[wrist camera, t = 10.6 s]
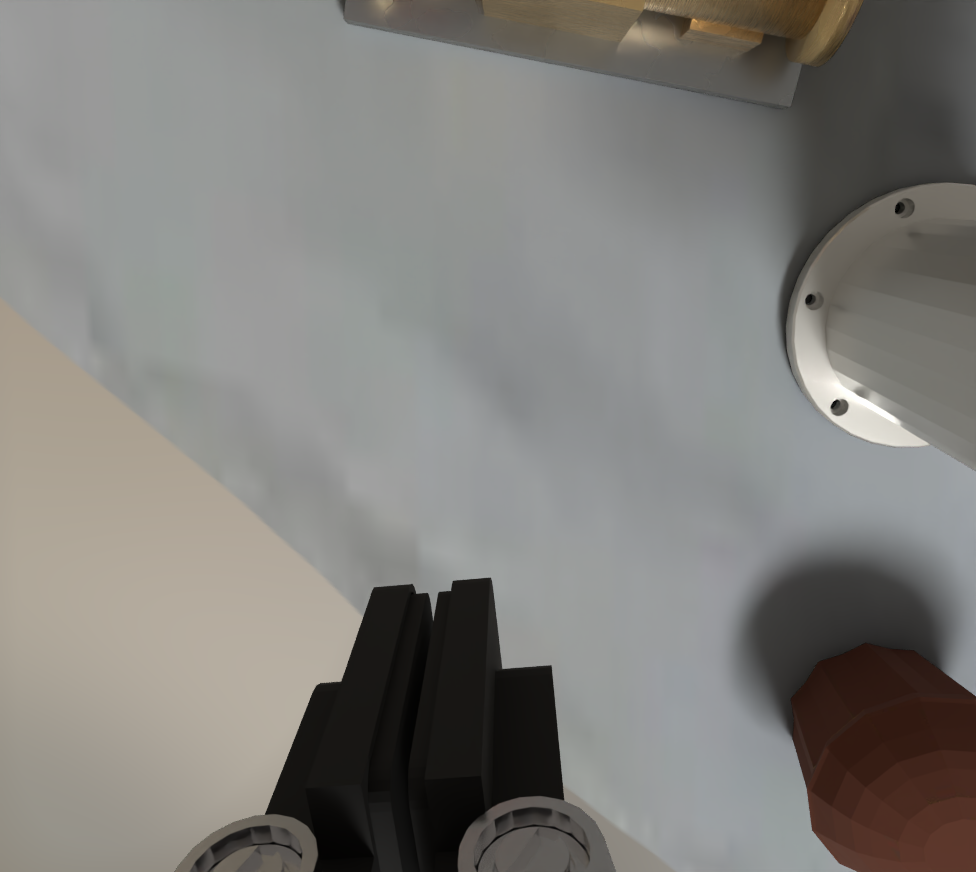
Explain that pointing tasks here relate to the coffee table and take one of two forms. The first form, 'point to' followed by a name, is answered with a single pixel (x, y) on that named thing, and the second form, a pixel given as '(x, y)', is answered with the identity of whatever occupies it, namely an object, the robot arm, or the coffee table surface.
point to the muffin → (889, 761)
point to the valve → (639, 37)
